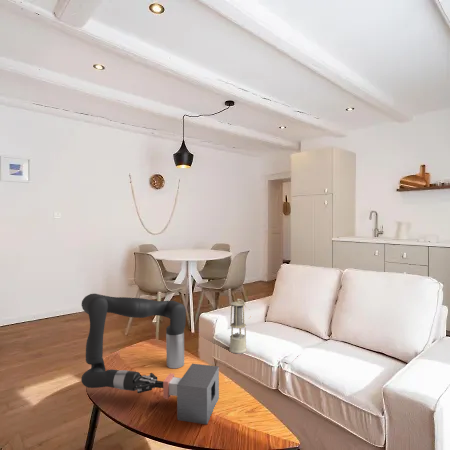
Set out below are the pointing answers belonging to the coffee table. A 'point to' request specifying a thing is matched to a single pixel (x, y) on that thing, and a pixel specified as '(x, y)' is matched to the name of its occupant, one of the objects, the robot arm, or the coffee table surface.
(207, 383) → the block
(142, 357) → the coffee table surface
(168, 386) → the plug
